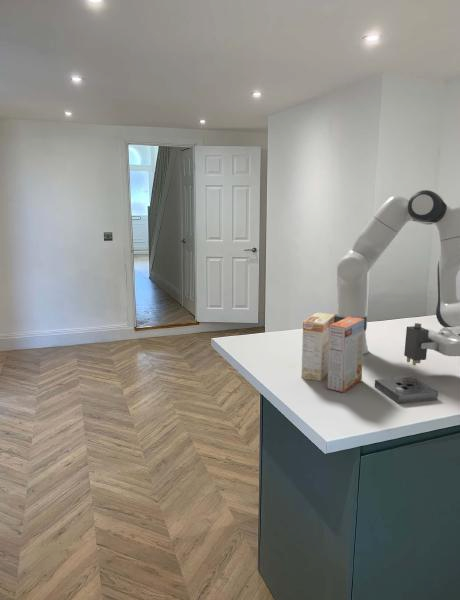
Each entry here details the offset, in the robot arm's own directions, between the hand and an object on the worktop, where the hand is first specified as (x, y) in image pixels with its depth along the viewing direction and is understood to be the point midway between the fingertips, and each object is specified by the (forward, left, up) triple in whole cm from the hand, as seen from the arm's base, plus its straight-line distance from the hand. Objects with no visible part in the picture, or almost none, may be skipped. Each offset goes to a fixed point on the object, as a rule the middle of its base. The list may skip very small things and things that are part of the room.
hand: (413, 342), depth 152 cm
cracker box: (-22, -13, -12) cm, 28 cm away
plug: (+1, 0, -7) cm, 7 cm away
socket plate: (-4, -16, -12) cm, 20 cm away
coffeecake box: (-31, -4, -12) cm, 33 cm away
